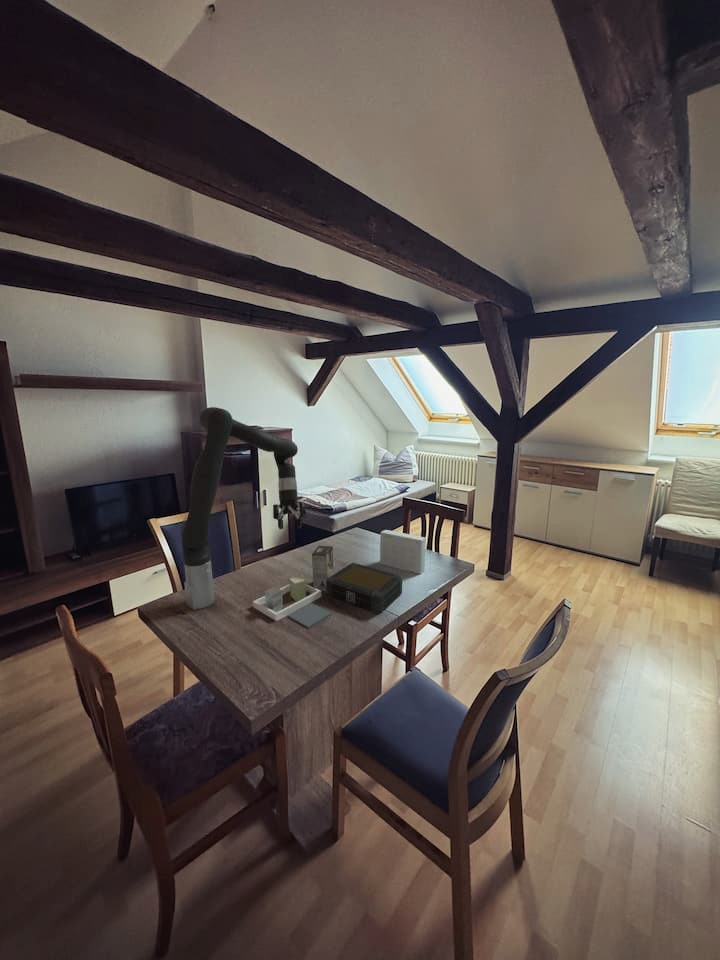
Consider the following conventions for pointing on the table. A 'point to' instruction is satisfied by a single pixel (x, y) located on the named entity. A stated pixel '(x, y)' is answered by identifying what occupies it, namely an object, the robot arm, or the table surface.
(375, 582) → the cash box
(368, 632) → the table surface
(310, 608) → the charcoal mat
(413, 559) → the skincare box
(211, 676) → the table surface
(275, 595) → the grey tin
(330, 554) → the coffee box
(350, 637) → the table surface
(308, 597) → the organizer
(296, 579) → the olive tin
